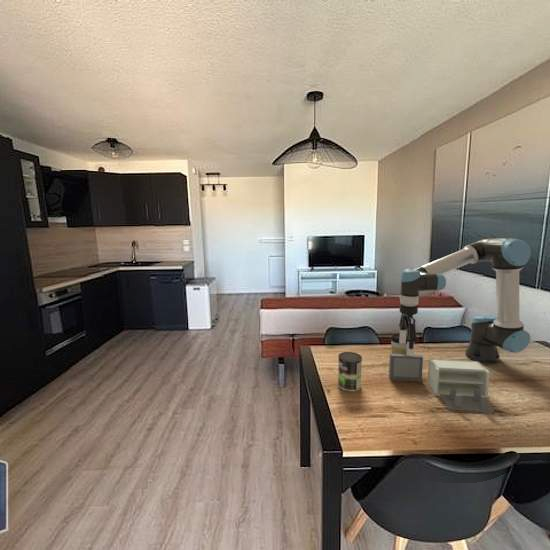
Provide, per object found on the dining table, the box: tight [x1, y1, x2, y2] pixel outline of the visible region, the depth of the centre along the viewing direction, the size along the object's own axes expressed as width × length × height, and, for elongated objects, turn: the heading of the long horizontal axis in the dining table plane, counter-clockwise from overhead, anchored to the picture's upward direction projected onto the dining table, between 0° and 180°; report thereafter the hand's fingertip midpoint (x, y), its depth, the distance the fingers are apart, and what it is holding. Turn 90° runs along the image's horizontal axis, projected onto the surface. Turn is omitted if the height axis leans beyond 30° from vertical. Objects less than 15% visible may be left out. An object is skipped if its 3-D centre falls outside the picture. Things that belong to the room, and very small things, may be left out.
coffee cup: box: [389, 333, 408, 354], centre depth 157 cm, size 10×10×15 cm
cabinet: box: [427, 358, 495, 414], centre depth 126 cm, size 20×20×12 cm
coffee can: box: [337, 351, 363, 392], centre depth 137 cm, size 10×10×14 cm
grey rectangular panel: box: [388, 352, 424, 382], centre depth 142 cm, size 14×3×12 cm, turn 80°
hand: (406, 349), depth 140 cm, fingers open, 13 cm apart
